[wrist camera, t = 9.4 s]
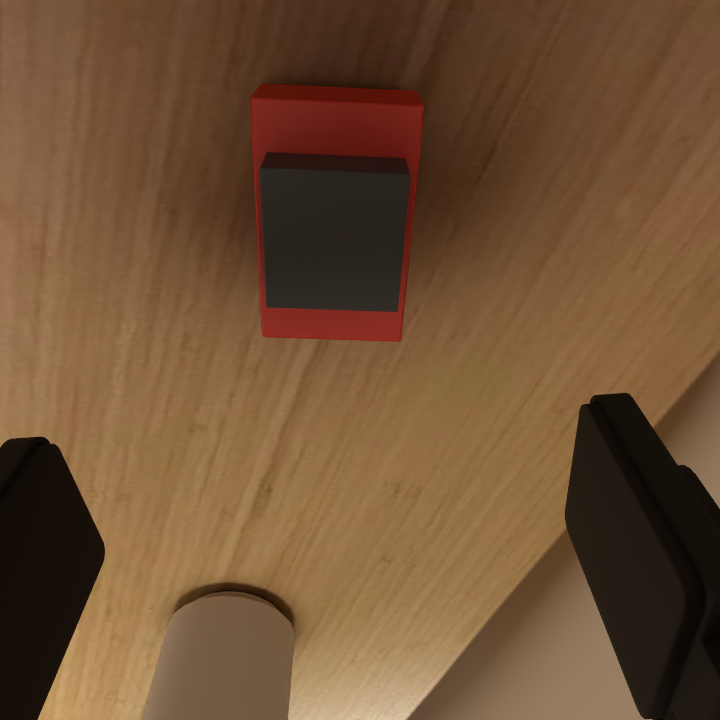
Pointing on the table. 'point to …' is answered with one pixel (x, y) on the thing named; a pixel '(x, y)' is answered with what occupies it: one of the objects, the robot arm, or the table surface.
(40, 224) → the table surface
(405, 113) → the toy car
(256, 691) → the can
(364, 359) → the table surface
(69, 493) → the robot arm
